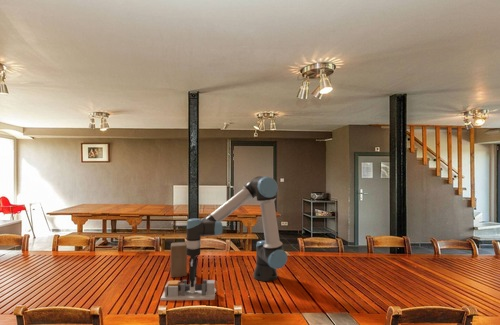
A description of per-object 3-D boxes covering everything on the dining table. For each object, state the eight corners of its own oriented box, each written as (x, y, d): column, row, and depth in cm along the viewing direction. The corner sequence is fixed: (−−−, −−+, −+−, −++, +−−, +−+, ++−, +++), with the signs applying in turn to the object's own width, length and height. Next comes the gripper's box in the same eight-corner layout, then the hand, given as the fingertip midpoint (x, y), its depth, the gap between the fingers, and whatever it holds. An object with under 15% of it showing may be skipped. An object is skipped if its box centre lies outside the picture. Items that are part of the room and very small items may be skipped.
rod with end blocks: (214, 291, 170) (214, 280, 170) (214, 294, 165) (214, 283, 165) (169, 291, 169) (170, 280, 169) (167, 295, 164) (168, 283, 164)
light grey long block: (215, 290, 173) (216, 277, 173) (214, 299, 161) (214, 285, 161) (165, 291, 172) (165, 278, 172) (160, 300, 160) (160, 286, 160)
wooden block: (170, 278, 193) (171, 246, 193) (170, 273, 202) (170, 242, 203) (186, 276, 195) (187, 245, 196) (185, 271, 205) (186, 241, 206)
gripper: (188, 243, 175) (188, 285, 175) (184, 251, 159) (183, 297, 158) (202, 243, 176) (201, 285, 175) (198, 251, 159) (197, 297, 159)
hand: (192, 290), depth 167 cm, fingers closed on rod with end blocks, 3 cm apart
